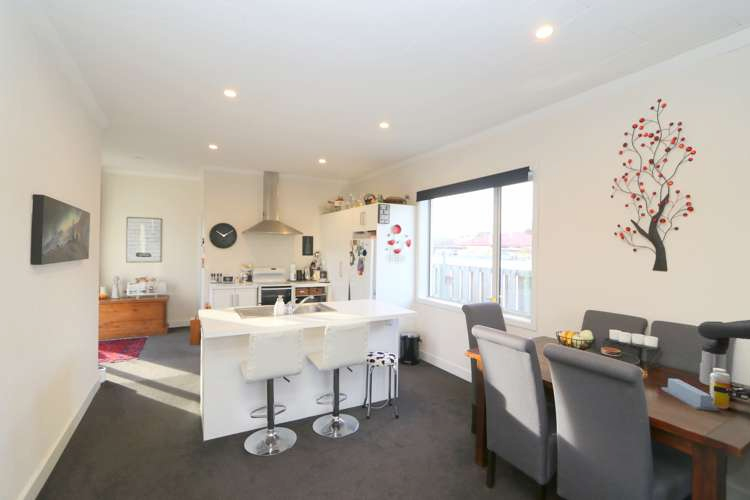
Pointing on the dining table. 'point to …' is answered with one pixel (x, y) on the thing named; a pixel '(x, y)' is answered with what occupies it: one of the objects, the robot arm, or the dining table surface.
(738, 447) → the dining table surface
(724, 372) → the supplement bottle
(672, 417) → the dining table surface
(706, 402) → the rail
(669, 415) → the dining table surface
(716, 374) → the beer can
